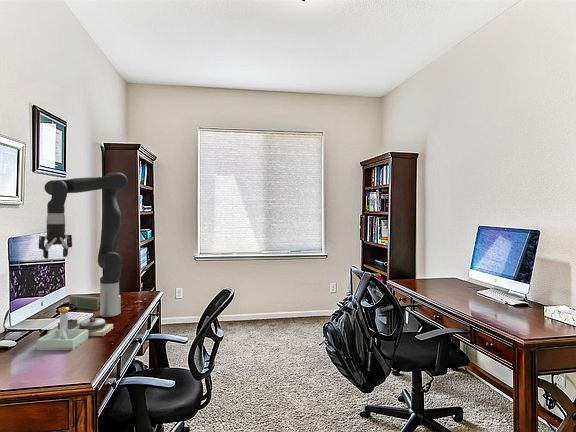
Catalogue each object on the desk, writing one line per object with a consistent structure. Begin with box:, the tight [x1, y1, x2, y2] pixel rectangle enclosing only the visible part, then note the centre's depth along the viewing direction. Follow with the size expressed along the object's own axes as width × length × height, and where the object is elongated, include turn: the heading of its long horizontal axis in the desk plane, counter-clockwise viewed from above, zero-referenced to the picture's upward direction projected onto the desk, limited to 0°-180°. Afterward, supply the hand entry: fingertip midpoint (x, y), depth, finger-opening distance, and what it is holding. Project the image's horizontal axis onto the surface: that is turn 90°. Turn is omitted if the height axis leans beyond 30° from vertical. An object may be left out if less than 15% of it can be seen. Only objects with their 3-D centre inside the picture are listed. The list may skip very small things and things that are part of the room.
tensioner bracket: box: [46, 317, 114, 337], centre depth 185 cm, size 24×12×6 cm, turn 93°
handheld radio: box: [69, 294, 100, 311], centre depth 227 cm, size 7×3×25 cm
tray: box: [36, 330, 89, 351], centre depth 169 cm, size 14×14×4 cm
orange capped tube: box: [58, 306, 70, 340], centre depth 169 cm, size 4×4×14 cm
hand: (55, 257), depth 190 cm, fingers open, 8 cm apart
